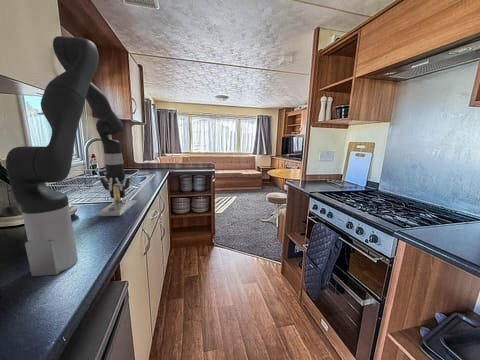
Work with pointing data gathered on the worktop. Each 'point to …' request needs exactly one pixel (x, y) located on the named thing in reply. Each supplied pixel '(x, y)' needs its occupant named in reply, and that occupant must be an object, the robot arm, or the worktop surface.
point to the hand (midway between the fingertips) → (118, 197)
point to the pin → (117, 194)
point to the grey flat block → (117, 208)
